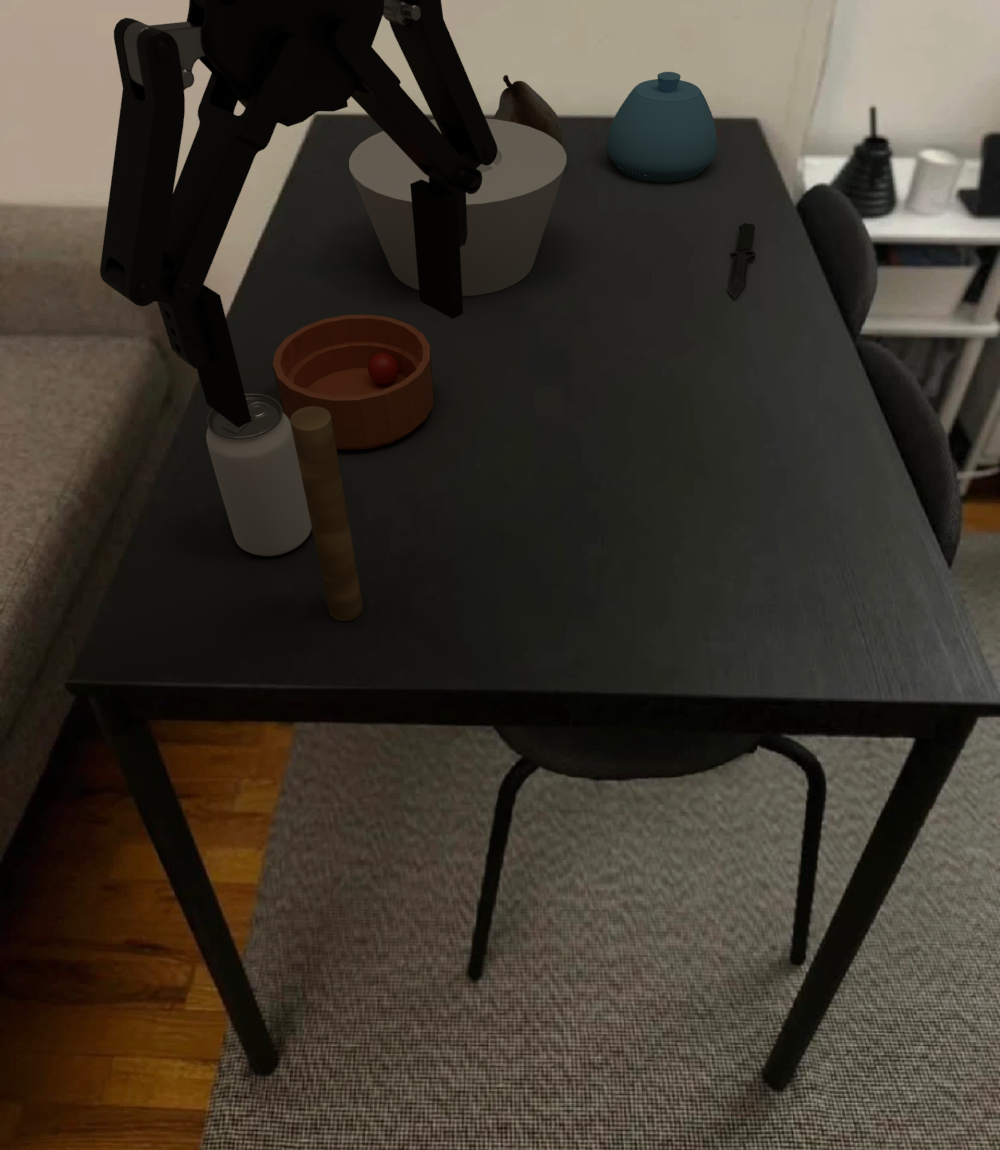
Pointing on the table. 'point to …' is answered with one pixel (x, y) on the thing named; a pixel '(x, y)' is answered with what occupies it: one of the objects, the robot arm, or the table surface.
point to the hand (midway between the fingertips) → (342, 357)
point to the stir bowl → (357, 377)
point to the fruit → (528, 109)
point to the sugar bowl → (663, 131)
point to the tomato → (383, 368)
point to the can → (260, 478)
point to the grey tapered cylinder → (468, 205)
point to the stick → (327, 509)
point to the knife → (741, 259)
